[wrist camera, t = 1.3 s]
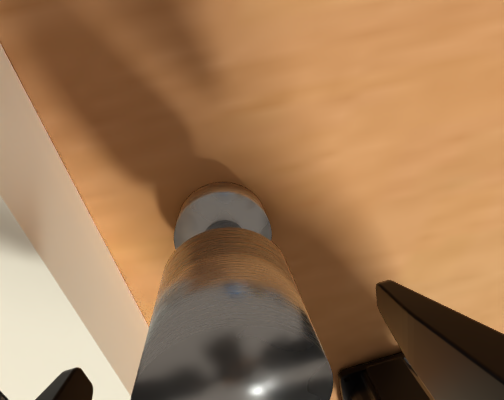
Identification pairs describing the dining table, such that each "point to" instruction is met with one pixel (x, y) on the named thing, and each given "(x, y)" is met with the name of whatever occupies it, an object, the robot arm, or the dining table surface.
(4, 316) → the keyhole board
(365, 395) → the robot arm
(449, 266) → the dining table surface
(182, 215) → the keyhole peg
